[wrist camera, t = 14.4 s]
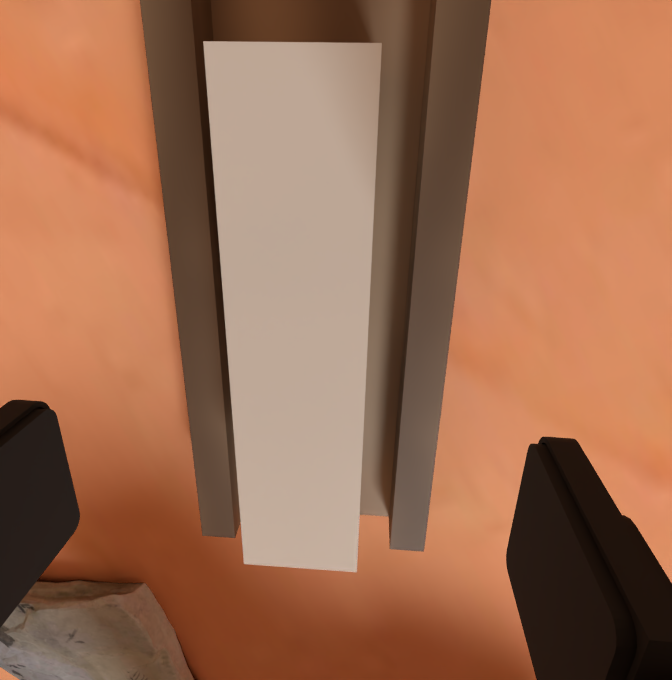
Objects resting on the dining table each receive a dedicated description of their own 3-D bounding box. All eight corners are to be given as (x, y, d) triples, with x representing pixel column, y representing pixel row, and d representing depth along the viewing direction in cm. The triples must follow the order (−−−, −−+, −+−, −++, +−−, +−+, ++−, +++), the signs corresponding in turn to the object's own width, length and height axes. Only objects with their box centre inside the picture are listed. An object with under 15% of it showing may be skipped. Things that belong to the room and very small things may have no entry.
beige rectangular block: (379, 69, 16) (381, 43, 11) (361, 464, 23) (356, 572, 17) (259, 67, 17) (203, 41, 11) (275, 459, 23) (243, 563, 18)
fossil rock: (235, 724, 35) (225, 764, 33) (53, 738, 38) (34, 776, 36) (131, 543, 29) (111, 578, 26) (-80, 576, 31) (-114, 610, 29)
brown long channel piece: (475, -29, 16) (499, -66, 13) (417, 497, 25) (423, 551, 22) (178, -30, 17) (132, -66, 14) (223, 484, 26) (202, 535, 23)
